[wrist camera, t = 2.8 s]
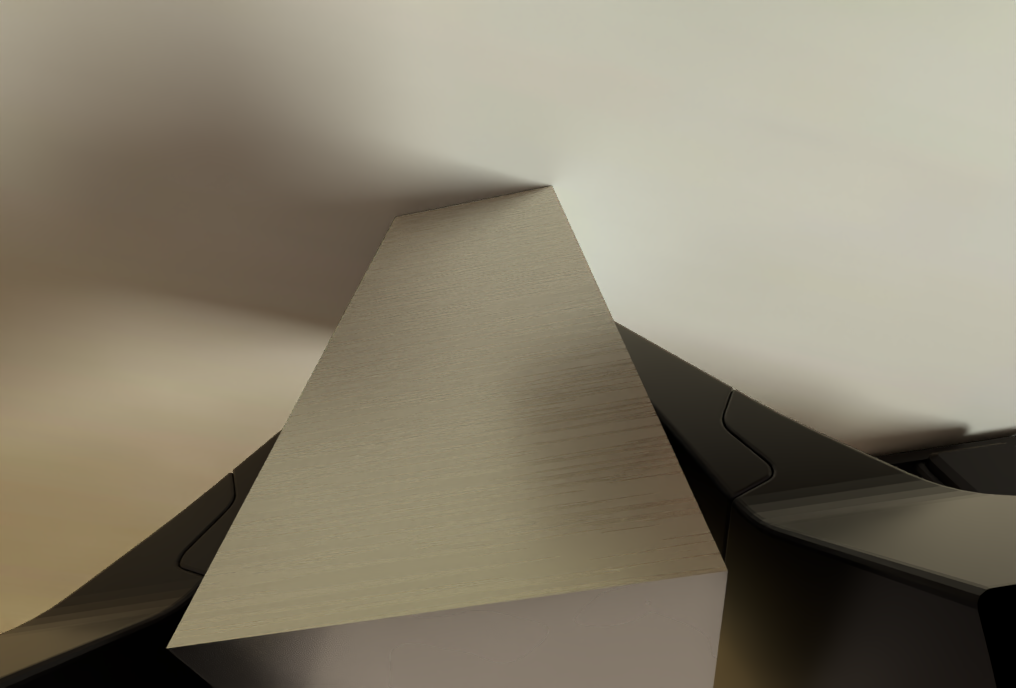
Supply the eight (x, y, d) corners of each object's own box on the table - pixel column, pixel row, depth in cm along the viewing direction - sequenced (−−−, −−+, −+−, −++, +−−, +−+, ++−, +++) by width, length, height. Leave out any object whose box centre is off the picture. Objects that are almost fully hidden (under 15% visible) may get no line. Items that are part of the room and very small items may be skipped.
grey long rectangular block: (570, 323, 14) (702, 770, 5) (437, 346, 14) (361, 807, 6) (552, 185, 11) (728, 570, 3) (395, 216, 12) (166, 648, 3)
